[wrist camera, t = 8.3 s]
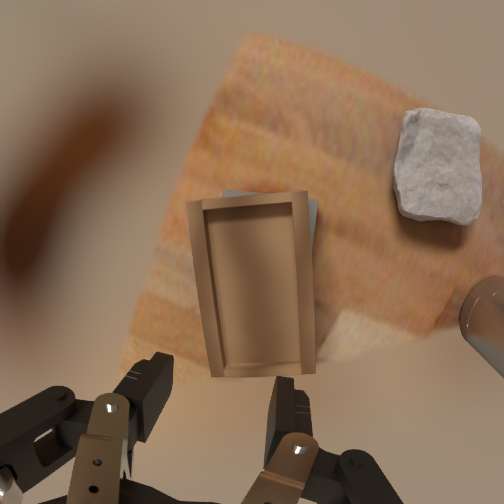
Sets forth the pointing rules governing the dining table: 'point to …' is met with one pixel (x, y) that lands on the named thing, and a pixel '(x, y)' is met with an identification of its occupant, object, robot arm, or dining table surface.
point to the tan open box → (255, 283)
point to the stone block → (438, 167)
